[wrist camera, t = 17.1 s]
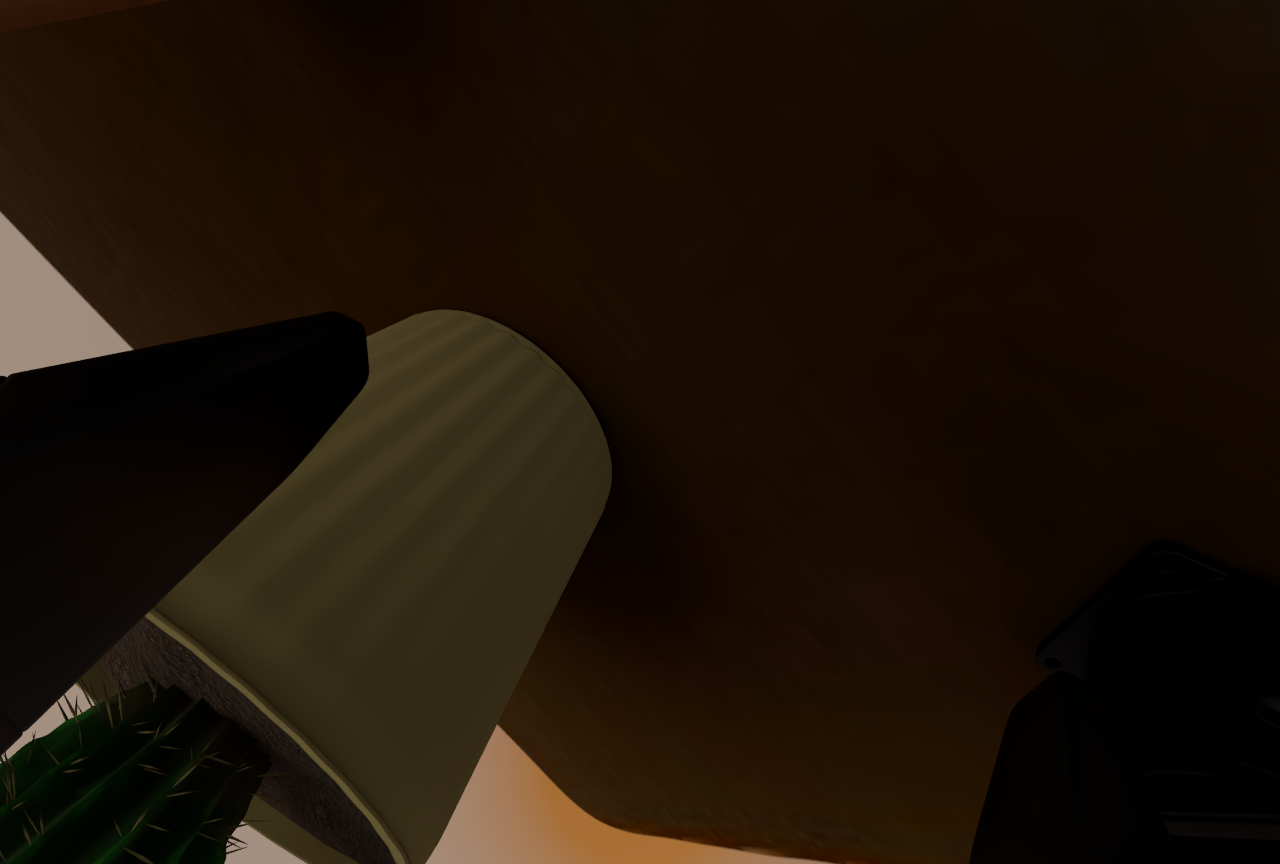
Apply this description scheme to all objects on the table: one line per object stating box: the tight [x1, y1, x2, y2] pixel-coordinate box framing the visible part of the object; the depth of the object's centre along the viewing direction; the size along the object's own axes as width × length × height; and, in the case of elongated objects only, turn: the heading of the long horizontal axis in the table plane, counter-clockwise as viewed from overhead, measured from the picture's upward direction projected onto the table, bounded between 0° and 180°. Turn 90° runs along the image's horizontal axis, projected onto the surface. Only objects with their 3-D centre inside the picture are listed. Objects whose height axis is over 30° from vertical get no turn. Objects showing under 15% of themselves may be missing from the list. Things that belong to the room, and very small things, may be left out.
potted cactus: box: [0, 310, 612, 864], centre depth 20 cm, size 15×15×30 cm
